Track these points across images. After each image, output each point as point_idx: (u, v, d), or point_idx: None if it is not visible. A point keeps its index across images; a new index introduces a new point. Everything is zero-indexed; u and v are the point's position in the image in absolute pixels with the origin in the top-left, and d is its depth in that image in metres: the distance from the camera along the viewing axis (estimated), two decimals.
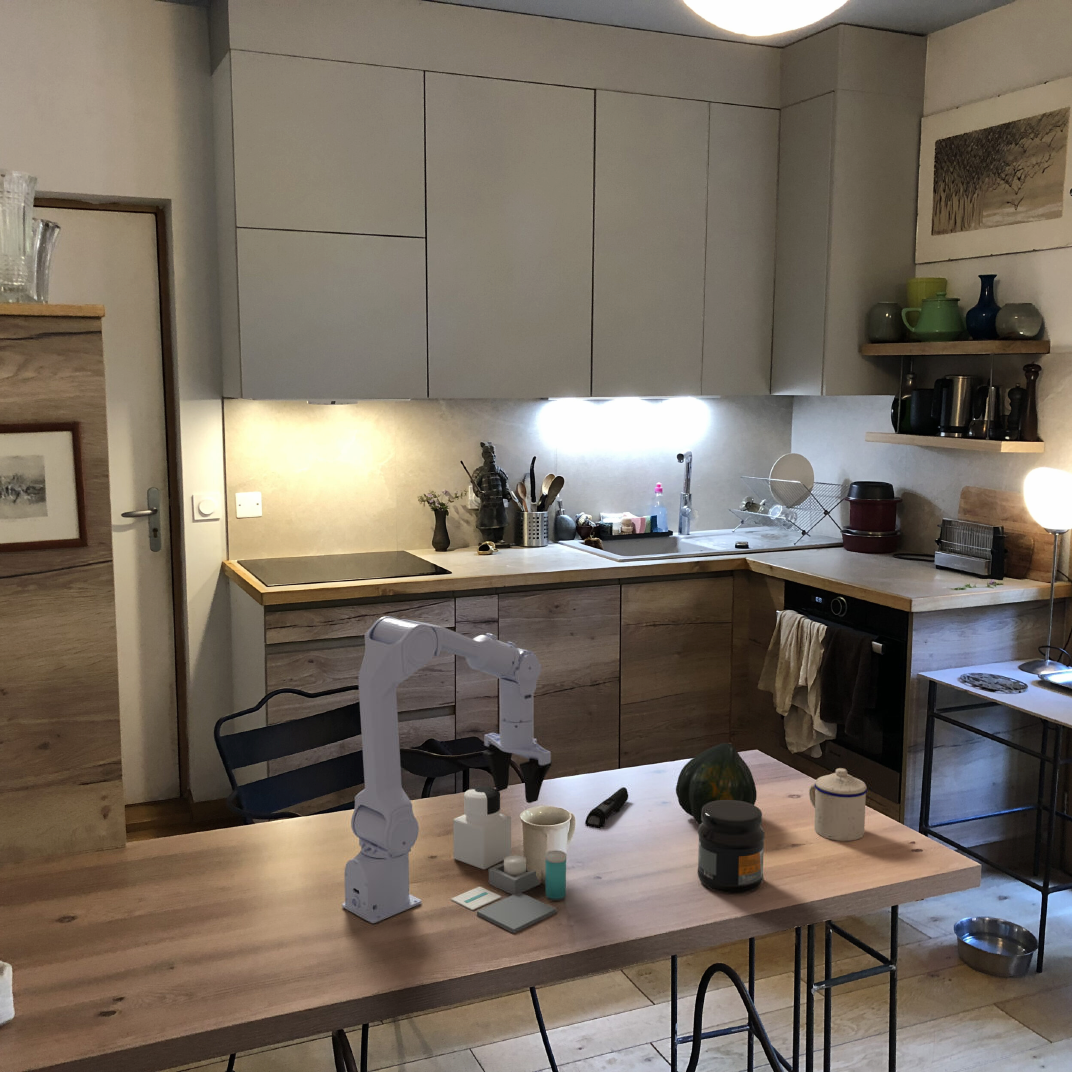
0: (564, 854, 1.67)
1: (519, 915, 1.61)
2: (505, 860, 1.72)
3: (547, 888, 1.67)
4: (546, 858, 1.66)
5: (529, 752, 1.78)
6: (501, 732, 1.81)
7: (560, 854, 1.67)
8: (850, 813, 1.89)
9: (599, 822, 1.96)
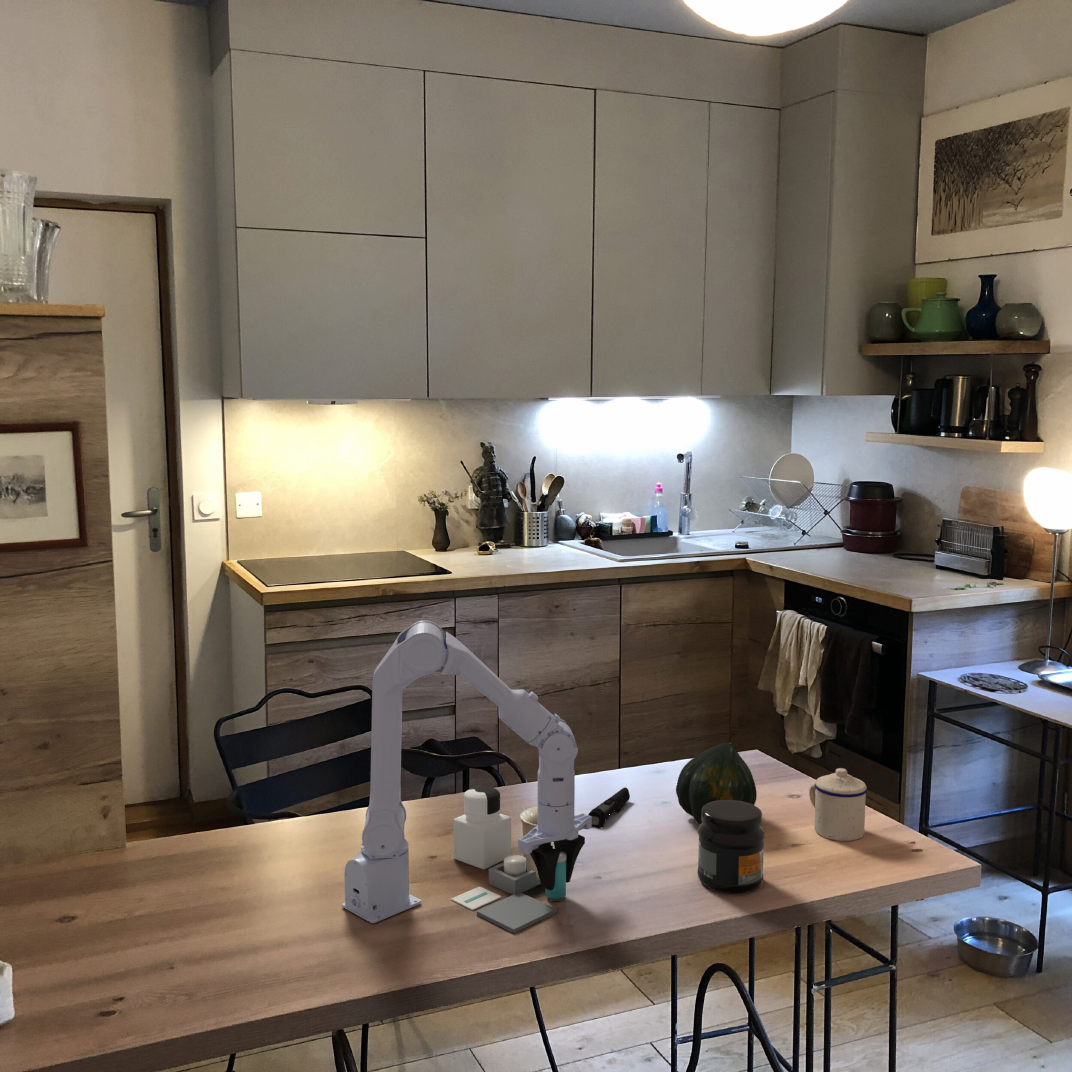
0: (564, 854, 1.67)
1: (519, 915, 1.61)
2: (505, 860, 1.72)
3: None
4: None
5: (527, 834, 1.64)
6: None
7: (560, 854, 1.67)
8: (850, 813, 1.89)
9: (599, 822, 1.96)
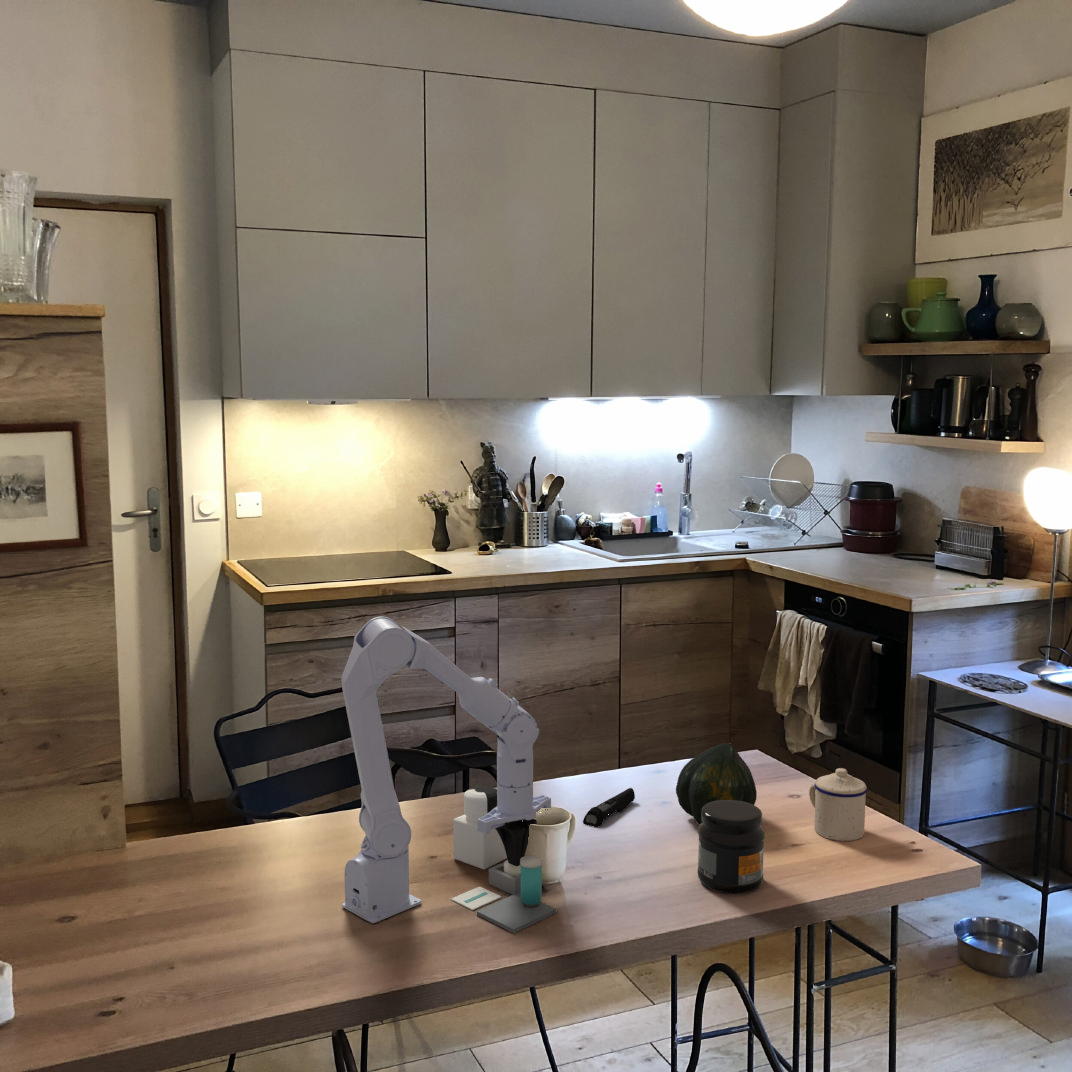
0: (539, 859, 1.64)
1: (519, 915, 1.61)
2: (505, 864, 1.72)
3: (522, 894, 1.64)
4: (521, 863, 1.63)
5: None
6: None
7: (536, 859, 1.64)
8: (850, 813, 1.89)
9: (596, 821, 1.96)
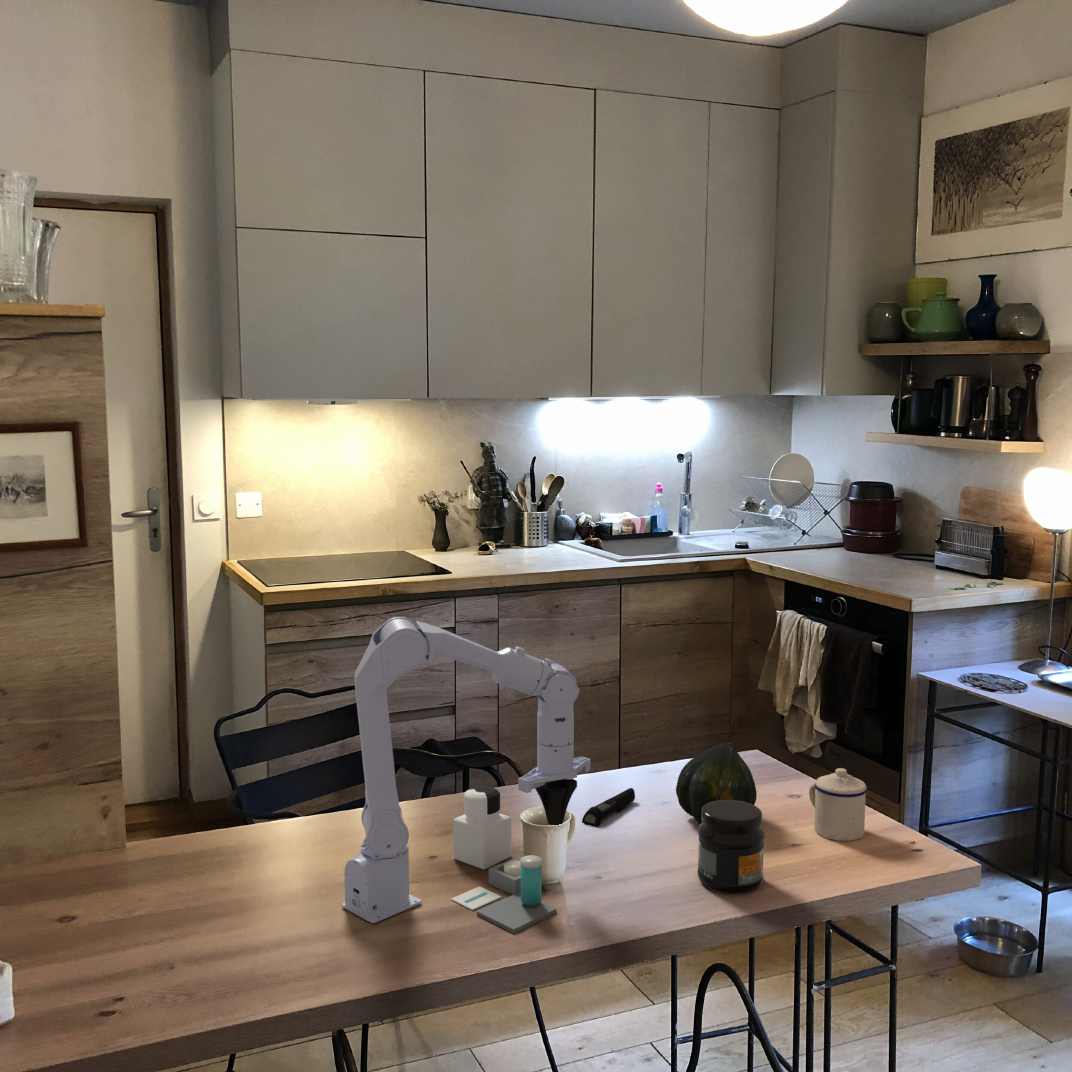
0: (540, 859, 1.64)
1: (519, 915, 1.61)
2: (505, 866, 1.72)
3: (522, 894, 1.64)
4: (521, 863, 1.63)
5: None
6: None
7: (536, 859, 1.64)
8: (850, 813, 1.89)
9: (595, 821, 1.96)
